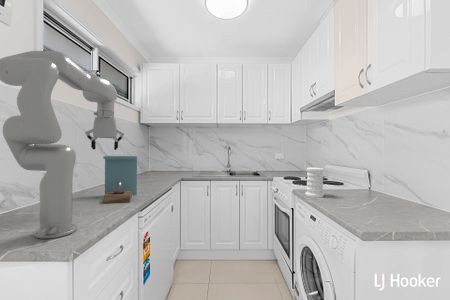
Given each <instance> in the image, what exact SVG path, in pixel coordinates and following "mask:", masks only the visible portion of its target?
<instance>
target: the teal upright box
mask: <svg viewBox="0 0 450 300" xmlns="http://www.w3.org/2000/svg"><path fill="white" fill-rule="evenodd" d="M102 159H103V160H104V195H105V194H106V193H107V192H108V191H115V182H122V191H130V190H132V196H137V194H138V155H103V157H102Z"/></svg>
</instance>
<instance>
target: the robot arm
mask: <svg viewBox="0 0 450 300" xmlns="http://www.w3.org/2000/svg"><path fill="white" fill-rule="evenodd" d="M58 80H60V81H62V82H63V83H64V84H66V85H67V86H69V87H70V88H72V89H74V90H77V91H81V92H82V96H83V98H84V99H85V100H86V101H88V102H91V103H97V104H96V105H97V107H96V111H95V112H93V115H94V116H95V117H94V119H93V120H94V121H93V128H92V129H89V130H86V131H85V133H84V134H85V136H86V137H87V138H88V139H89V140H90V143H91V147H90V148H92V150H96V145H97V144H96V140H97V139H113V140H114V143H113V144H114V146H113V148H114V149H113V150H115V151H117V150H118V148H119V141H121V140H123V137H124V136H125V133H123V132H122V131H120V130H118V129H117V120H116V118H115V101H117V99H118V92H117V89H116V88H115V87H114V85H113V84H112V83H111V82H110V81H108V80H107V79H105V78H103V77H100V76H99V75H95V74H93V73H91V72H88V71H85V70H84V69H83V68H82V67H80V66H79V64H77V63H76V61H74V60H73V59H72V58H70V57H69V56H68V55H66V54H65V53H63V52H61V51H57V50H30V51H25V52H21V53H17V54H13V55H8V56H4V57H1V58H0V81H1V82H2V83H4V84H6V85H8V86H14V87H18V86H19V87H21V88H20V90H19V91H18V94H17V97H16V105H17V108H18V110H19V113H20V115H12V116H10V117H8V118H7V119H6V120H5V121H4V123H3V125H2V136H3V137H4V140H5V142H6V144H7V146H8V148H9V150H10V152H11V154H12V155H13V158H14V159H15V161H16V163H17V165H19V166H20V168H22V169H23V170H26V171H39V172H40V171H42V172H45V174H44V175H43V176H42V178H41V180H40V182H39V228H38V229H36V230H35V231H34V232H33V236H34V238H36V239H42V240H43V239H46V240H47V239H54V238H55V239H56V238H61V237H65V236H67V235H71V234H73V233H75V232H76V231H77V230H78V225H77V224H76V223H73V175H74V168H75V164H76V158H77V155H76V152H75V150H74V149H73V148H72V147H71V146H69V145H66V144H58V142H59V141H60V140H61V138H62V130H61V127H60V123H59V121H58V118H57V116H56V113H55V111H54V107H53V105H52V92H53V90H54V88H55V86H56V83H57V82H58ZM91 134H92V135H91ZM117 134H118V135H119V137H117V136H118V135H117Z"/></svg>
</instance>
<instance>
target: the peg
mask: <svg viewBox="0 0 450 300" xmlns="http://www.w3.org/2000/svg"><path fill="white" fill-rule="evenodd" d="M115 194H122V182H115Z"/></svg>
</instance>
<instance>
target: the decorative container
mask: <svg viewBox="0 0 450 300" xmlns="http://www.w3.org/2000/svg"><path fill="white" fill-rule="evenodd" d="M306 171H307V173H306V174H307V175H306V176H307V177H306V191H305V192H304V193H305V194H304V195H305V196H306V197H309V198H310V197H312V198H324V197H325V194H324V193H323V191H324V189H323V186H324V182H323V181H324V178H323V177H324V172H325V168H322V167H306ZM323 196H324V197H323Z"/></svg>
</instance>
